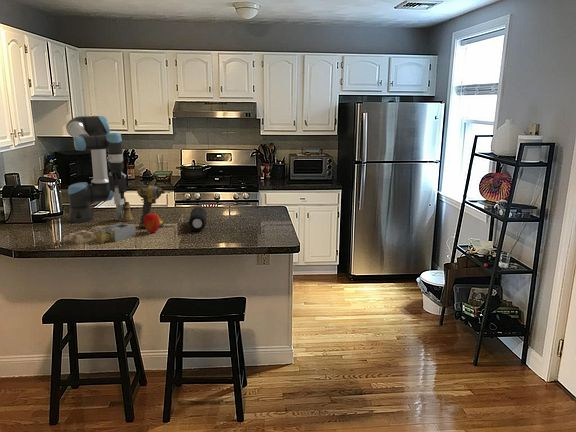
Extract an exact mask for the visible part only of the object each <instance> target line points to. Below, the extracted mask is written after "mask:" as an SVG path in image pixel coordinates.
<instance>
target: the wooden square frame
mask: <svg viewBox="0 0 576 432" xmlns="http://www.w3.org/2000/svg"><path fill="white" fill-rule="evenodd" d="M68 238H69V242H72V243H76V244H79V245H80V244H84V243H87V242H91V241H95V240H96V238H95V232H94V231H88V230H84V229H83V230H79V231H75V232H72V233H68Z"/></svg>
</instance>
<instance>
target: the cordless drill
mask: <svg viewBox="0 0 576 432" xmlns="http://www.w3.org/2000/svg"><path fill="white" fill-rule="evenodd" d="M136 193H137V195H138V196H139V197H140V198H141V199H142V200H143V204H142V215H141V217H140V219H139V220H140V222H139V224H138V226H139V227H140V228H144V229H146V228H145V226H144V221H143V220H144V217H145V215H146V214H150V213H151V211H152V205H153V204H154V205H155V204H157V200H158V199H159V198H160V197H161V196H162V195H164V194H166V193H167V194H169V193H171V192H170V191H166V190H164V189H162V187H159V186H155V185H144V184H143V185H139V186H138V187H137V189H136ZM159 218H160V217H159ZM164 223H165V222H164V220H163V219H162V218H160V224H159V228H162V227H164ZM159 228H158V229H159Z"/></svg>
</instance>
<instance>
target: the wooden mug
mask: <svg viewBox="0 0 576 432" xmlns="http://www.w3.org/2000/svg"><path fill="white" fill-rule="evenodd" d="M123 212H124V217H123V218H117V221H118V222H121V223H124V222H130V221H133V215H132V210H131V204H130V202H128V201H127V199H126V197H125V196H124V204H123Z"/></svg>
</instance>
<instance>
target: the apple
mask: <svg viewBox="0 0 576 432" xmlns="http://www.w3.org/2000/svg"><path fill="white" fill-rule="evenodd" d="M143 221H144V226H145V228H144V229H145V230H146V231H147V232H148V233H149V234H153V233H156V232H157V231H158V230H159V224H160V217H159V215H158V214H157V213H153V212H150V214H146V215H145V217H144V220H143Z"/></svg>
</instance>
